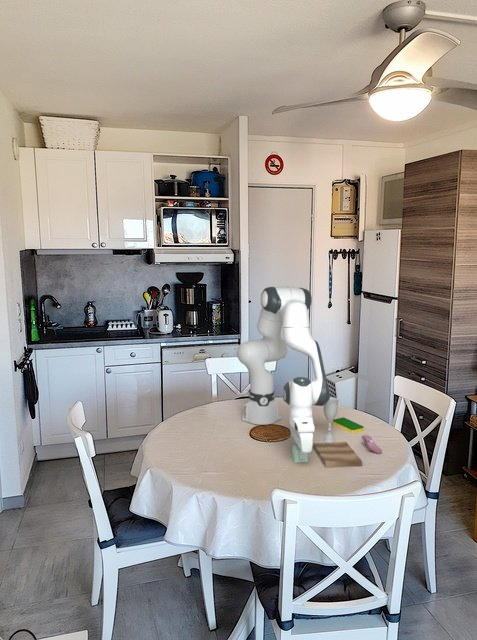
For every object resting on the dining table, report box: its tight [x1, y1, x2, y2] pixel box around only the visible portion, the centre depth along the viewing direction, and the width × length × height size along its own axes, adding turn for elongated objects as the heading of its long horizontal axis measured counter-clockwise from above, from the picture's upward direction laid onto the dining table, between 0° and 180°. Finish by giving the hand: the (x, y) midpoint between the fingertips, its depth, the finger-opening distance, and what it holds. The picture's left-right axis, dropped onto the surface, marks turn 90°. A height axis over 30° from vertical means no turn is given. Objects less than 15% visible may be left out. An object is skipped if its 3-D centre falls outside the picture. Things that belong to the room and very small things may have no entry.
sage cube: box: [291, 444, 309, 463], centre depth 187 cm, size 5×5×5 cm
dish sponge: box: [331, 416, 365, 434], centre depth 221 cm, size 7×14×2 cm, turn 29°
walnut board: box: [312, 441, 363, 469], centre depth 190 cm, size 18×14×2 cm
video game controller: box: [360, 433, 382, 455], centre depth 196 cm, size 10×5×7 cm, turn 6°
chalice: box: [322, 396, 340, 443], centre depth 204 cm, size 7×7×18 cm
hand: (300, 454), depth 187 cm, fingers closed on sage cube, 5 cm apart
